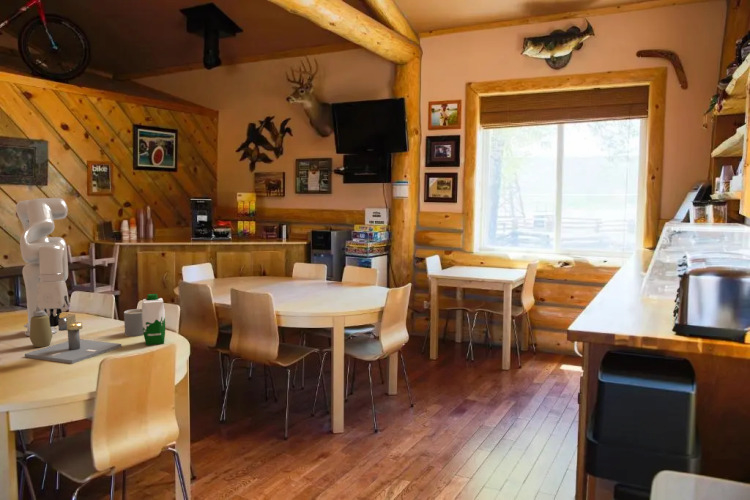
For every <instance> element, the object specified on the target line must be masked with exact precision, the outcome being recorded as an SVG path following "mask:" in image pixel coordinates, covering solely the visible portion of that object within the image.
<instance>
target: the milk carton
mask: <svg viewBox="0 0 750 500" xmlns="http://www.w3.org/2000/svg"><path fill="white" fill-rule="evenodd" d="M146 296H147V297H146V298H144V299H142V302H141V309H142V321H143V334H144V335H143V338H144V343H145V345H146V346H153V345H162V344H163V345H164V344H165V338H166V313H165V312H166V311H165V303H164V300H163V298H162V297H160V298H159V297H158V293H148V294H147V295H146Z"/></svg>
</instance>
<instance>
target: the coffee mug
mask: <svg viewBox="0 0 750 500" xmlns="http://www.w3.org/2000/svg"><path fill="white" fill-rule="evenodd" d="M123 319H124V320H123V322H124V335H125V336H126V335H127V337H140V336H144V334H143V321H142V308H134V309H127V310H125V311H124V312H123Z"/></svg>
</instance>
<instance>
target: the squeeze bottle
mask: <svg viewBox="0 0 750 500" xmlns="http://www.w3.org/2000/svg"><path fill="white" fill-rule="evenodd" d="M52 338H53V334H52V331H51V327H50V321H49V316H47V315H46V312H45V311H42V310H40V308H39V307H38V306H37V307H36V311H34V312H33V317H32V318H31V322H30V336H29V340H30V342H31V345H32V346H33V348H42V347H43V348H45V347H49V346H51V345H50V344H51V342H52Z"/></svg>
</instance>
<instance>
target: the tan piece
mask: <svg viewBox="0 0 750 500" xmlns="http://www.w3.org/2000/svg"><path fill="white" fill-rule="evenodd" d="M76 319H77V318H76V313H68V314H67V315H64V316H63V317H59V318H58V326H57V327H58V331H59V332H63V331H64V332H65V331H67V332H68V331H73V330H79V331H80V330H82V329H83V322H82V321H76Z"/></svg>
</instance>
